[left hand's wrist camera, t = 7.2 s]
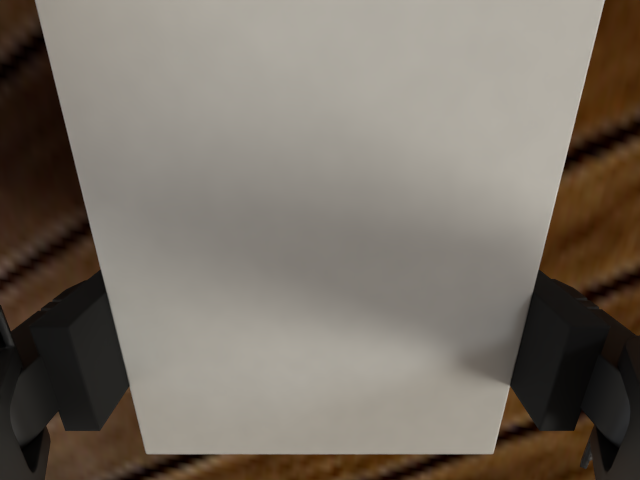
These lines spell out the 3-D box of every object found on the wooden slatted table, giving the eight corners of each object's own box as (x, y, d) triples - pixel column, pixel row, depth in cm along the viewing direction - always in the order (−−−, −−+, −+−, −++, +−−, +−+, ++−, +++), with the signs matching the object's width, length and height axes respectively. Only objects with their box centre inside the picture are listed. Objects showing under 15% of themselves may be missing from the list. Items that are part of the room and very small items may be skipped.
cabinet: (193, -167, 14) (-222, -1031, 3) (446, -167, 14) (861, -1031, 3) (234, 270, 21) (145, 454, 10) (404, 270, 21) (493, 455, 10)
